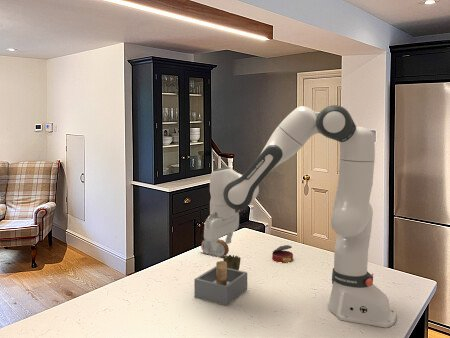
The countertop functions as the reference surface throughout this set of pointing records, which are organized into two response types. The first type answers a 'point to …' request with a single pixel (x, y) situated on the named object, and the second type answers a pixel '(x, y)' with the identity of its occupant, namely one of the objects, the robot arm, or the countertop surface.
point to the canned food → (282, 254)
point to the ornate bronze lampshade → (232, 262)
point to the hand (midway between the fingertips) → (222, 246)
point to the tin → (220, 252)
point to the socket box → (220, 286)
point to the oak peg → (221, 272)
